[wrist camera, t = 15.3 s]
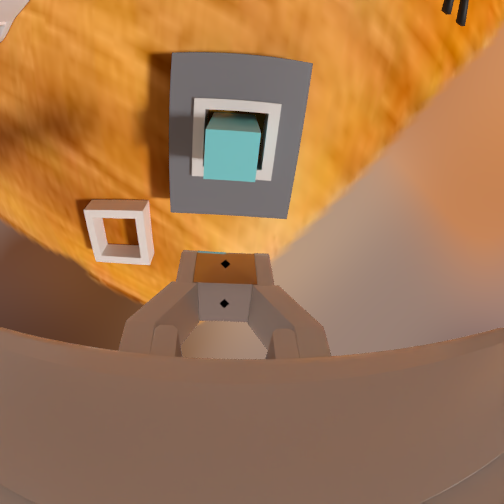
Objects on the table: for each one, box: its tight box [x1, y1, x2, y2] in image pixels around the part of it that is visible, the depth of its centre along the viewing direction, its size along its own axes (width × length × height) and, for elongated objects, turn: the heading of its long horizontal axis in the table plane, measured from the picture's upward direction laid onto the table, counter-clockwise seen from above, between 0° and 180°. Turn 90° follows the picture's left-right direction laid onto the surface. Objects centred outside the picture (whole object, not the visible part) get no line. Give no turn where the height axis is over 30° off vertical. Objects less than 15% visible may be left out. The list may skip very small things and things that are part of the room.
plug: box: [203, 112, 261, 182], centre depth 24 cm, size 4×4×8 cm
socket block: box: [169, 52, 313, 219], centre depth 26 cm, size 12×16×3 cm
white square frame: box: [84, 200, 154, 265], centre depth 32 cm, size 8×8×2 cm
